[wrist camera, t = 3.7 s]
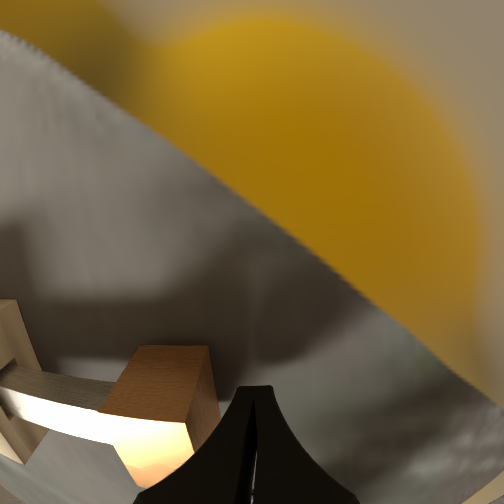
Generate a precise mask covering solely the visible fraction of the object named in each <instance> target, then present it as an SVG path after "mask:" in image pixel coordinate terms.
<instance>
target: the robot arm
mask: <svg viewBox="0 0 504 504" xmlns="http://www.w3.org/2000/svg"><path fill="white" fill-rule="evenodd" d="M256 452H257V457H256ZM255 460H256V471H255V483H254V493H253V495H252V482H253V475H254V467H255ZM7 504H24V503H22V502H20V501H19V500H16V499H15V498H13V497H11V498H10V500H9V501H8V503H7ZM133 504H360V503H359V501H358V500H357V498H356V496H355V495H354V494H353V493H351V492H350V491H348V490H347V489H346V488H344V487H343V486H342V485H340V484H339V483H338V482H336V481H335V480H334V479H333V478H332V477H330V476H329V475H328V474H327V473H326V472H325V471H324V470H323V469H322V468H321V467H320V466H319V465H318V464H317V463H316V462H315V461H314V460H313V459H312V458H311V457H310V455H309V454H308V453H307V452H306V451H305V449H304V448H303V447H302V446H301V444H300V443H299V441H298V440H297V439H296V437H295V436H294V434H293V432H292V431H291V429H290V428H289V426H288V424H287V422H286V421H285V419H284V417H283V415H282V413H281V411H280V408H279V406H278V403H277V401H276V398H275V395H274V390H273V387H272V386H271V385H266V386H240V387H238V388H237V390H236V393H235V395H234V398H233V400H232V402H231V404H230V405H229V407H228V409H227V411H226V412H225V414H224V416H223V417H222V419H221V421H220V422H219V424H218V425H217V426H216V428H215V429H214V431H213V432H212V433H211V435H210V436H209V437H208V438H207V440H206V441H205V442H204V443H203V444H202V446H201V447H200V448H199V449H198V450H197V451H196V452H195V453H194V454H193V455H192V456H191V457H190V458H189V459H188V460H187V461H186V462H184V463H183V464H182V465H181V466H180V467H179V468H177V469H176V470H175V471H173V472H172V473H171V474H169V475H168V476H167V477H165V478H164V479H162V480H161V481H159V482H158V483H156V484H154V485H153V486H151V487H149V488H148V489H146V490H144V491H142V492H140V493H139V494H138V495H137V497H136V499H135V501H134V503H133ZM489 504H504V495H503V496H501V497H500V498H498V499H496V500H494V501H492V502H491V503H489Z"/></svg>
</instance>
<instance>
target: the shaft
mask: <svg viewBox="0 0 504 504" xmlns="http://www.w3.org/2000/svg"><path fill="white" fill-rule="evenodd" d="M0 406H1V408H2V410H3V411H4V412H6V413H9V414H11V415H14V416H16V417H19V418H21V419H24V420H27V421H30V422H33V423H35V424H38V425H41V426H44V427H48V428H51V429H54V430H57V431H61V432H64V433H68V434H71V435H75V436H79V437H83V438H87V439H91V440H95V441H100V442H104V443H109V444H113V445H114V447H115V449H116V451H117V452H118V454H119V456H120V458H121V459H122V461H123V463H124V464H125V466H126V468H127V469H128V471H129V473H130V474H131V476H132V477H133V479H134V481H135V482H136V484H137V485H138V486H139V487H145V488H149V487H151V486H153V485H154V484H156V483H158V482H159V481H161V480H162V479H164V478H165V477H167V476H168V475H169V474H171V473H172V472H173V471H175V470H176V469H177V468H179V467H180V466H181V465H182V464H183V463H184V462H186V461H187V460H188V459H189V458H190V457H191V456H192V455H193V454H194V453H195V452H196V451H197V450H198V449H199V448H200V447H201V446H202V444H203V443H204V442H205V441H206V440H207V438H208V437H209V436H210V435H211V433H212V432H213V431H214V429H215V428H216V426H217V425H218V424H219V422H220V421H221V415H220V410H219V405H218V399H217V394H216V389H215V383H214V378H213V372H212V367H211V361H210V355H209V349H208V345H207V346H171V345H140V346H139V348H138V349H137V351H136V352H135V354H134V355H133V357H132V358H131V360H130V361H129V363H128V365H127V366H126V368H125V369H124V371H123V372H122V374H121V375H120V377H119V378H118V380H117V382H108V381H100V380H92V379H85V378H79V377H72V376H66V375H61V374H55V373H50V372H45V371H40V370H35V369H30V368H26V367H21V366H17V365H13V364H9V363H8V364H7V365H5V366H4V367H3V368H2V369H1V370H0Z"/></svg>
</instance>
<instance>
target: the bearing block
mask: <svg viewBox="0 0 504 504" xmlns="http://www.w3.org/2000/svg"><path fill="white" fill-rule="evenodd" d="M8 363H9V364H13V365H17V366H21V367H26V368H30V369H35V370H40V371H42V369H41V367H40V365H39V362H38V360H37V357H36V355H35V352H34V350H33V347H32V345H31V342H30V339H29V337H28V334H27V331H26V328H25V325H24V322H23V319H22V316H21V313H20V310H19V306H18V303H17V300H12V299H0V370H1V369H2V368H3V367H4V366H5V365H7V364H8ZM49 429H50V428H48V427H44V426H41V425H38V424H35V423H33V422H30V421H27V420H24V419H21V418H19V417H16V416H14V415H11V414H9V413H6V412H4V411H3V410H2V408H1V406H0V453H1V454H3V455H5V456H7V457H9V458H11V459H13V460H15V461H17V462H19V463H21V464H23V465H25V464H26V462H27V461H28V459H29V458H30V456H31V455H32V454H33V452H34V451H35V449H36V448H37V446H38V445H39V443H40V442H41V441H42V439H43V438H44V436H45V435H46V434H47V432H48V431H49Z"/></svg>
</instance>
